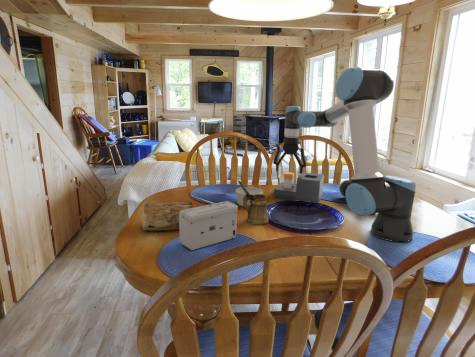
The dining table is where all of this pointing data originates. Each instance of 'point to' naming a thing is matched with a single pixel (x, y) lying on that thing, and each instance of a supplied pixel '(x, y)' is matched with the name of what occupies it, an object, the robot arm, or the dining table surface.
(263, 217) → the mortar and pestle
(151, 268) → the dining table surface
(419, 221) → the dining table surface
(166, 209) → the petrified wood
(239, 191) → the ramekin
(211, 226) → the stereo radio cassette player
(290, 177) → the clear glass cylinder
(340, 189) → the dark grey cylinder
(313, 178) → the dock
